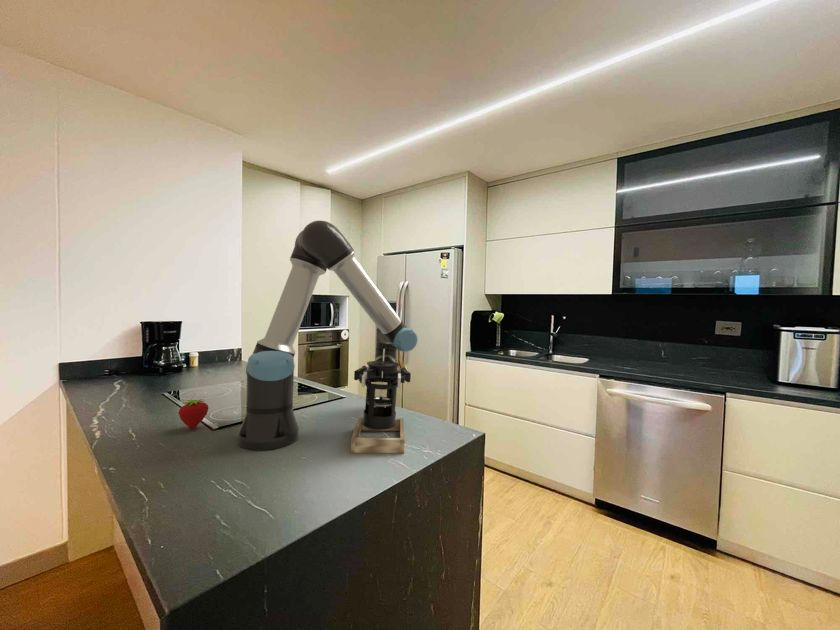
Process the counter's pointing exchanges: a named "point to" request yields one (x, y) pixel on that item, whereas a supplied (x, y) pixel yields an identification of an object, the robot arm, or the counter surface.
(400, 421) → the wooden frame
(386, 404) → the french press
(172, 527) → the counter surface
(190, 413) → the strawberry
